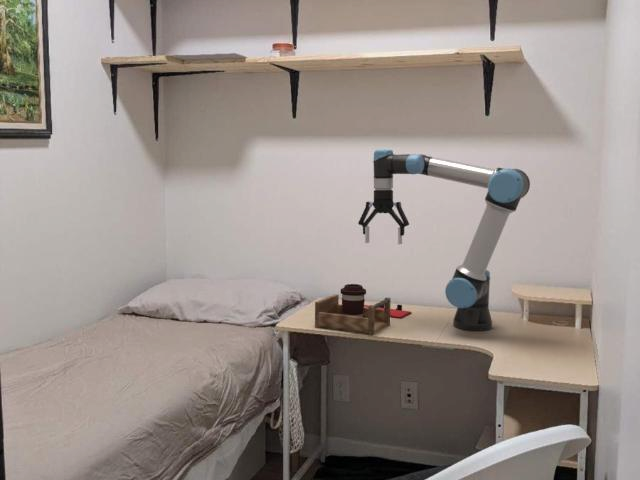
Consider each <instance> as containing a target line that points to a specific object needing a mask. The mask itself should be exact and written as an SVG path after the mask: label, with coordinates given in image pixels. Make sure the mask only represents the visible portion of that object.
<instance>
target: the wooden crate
mask: <svg viewBox="0 0 640 480" xmlns="http://www.w3.org/2000/svg"><path fill="white" fill-rule="evenodd" d="M339 299H340V296H339V294H338V293H337V294H336V293H335V294H332V295H329V296H328V297H325V298H322V299H319V300H317V301H315V302H314V328H317V329H323V330H331V331H337V332H344V333H345V332H346V333H353V334H358V335H367V336H374V335H375V334H377V333H379V332H381V331H383V330H384V329H387V328H388V327H389V326H391V318H390V309H391V303H392V302H391V300H392V299H391V297H385V298H384V299H383V300H381V301H379V302H377V303H375V304H373V305H372V304H369V305H368V308H366V307H364V312H363V317H356V316H348V315H343V313H342V303H341V304H339ZM382 305H384V310H383V309H376V308H378V307H380V306H382Z"/></svg>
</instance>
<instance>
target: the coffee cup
mask: <svg viewBox="0 0 640 480" xmlns="http://www.w3.org/2000/svg"><path fill="white" fill-rule="evenodd" d="M340 294H341V297H342V298H341V305H342V313H343V315H348V316H356V317H363V312H364V305H365V300H366V299H365V295H367V289H365V288H364V287H363V285H362V284H357V283H347V284H345V285H344V286H343V287H342V288H340Z"/></svg>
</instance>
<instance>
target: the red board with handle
mask: <svg viewBox="0 0 640 480" xmlns="http://www.w3.org/2000/svg"><path fill="white" fill-rule="evenodd" d="M396 305H397V306H396V308H395V309H394V308H390V317H391V318H390V319H397V320H399V319H400V320H402V319H404V318H406V317H407V316H409V315H413V312H412V311H407V310H403V305H402V304H396ZM368 306H369V305H368V304H364V307H366V308H368ZM376 309H383V310H384V305H382V306H380V307H378V308H376Z"/></svg>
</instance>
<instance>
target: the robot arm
mask: <svg viewBox="0 0 640 480" xmlns="http://www.w3.org/2000/svg"><path fill="white" fill-rule="evenodd" d="M372 163H373V202H372V201H370V200H369V201H366V202H365V208H364V210H363V212H362V213H361V216H360V218H359V221H358V222H357V224H358V225H359V226H362V234H363V235H364V236H365V237H364V238H365V239H364V242H365V243H364V244H369V243H370V226H369V224H370V222H371V221H372V220H373V219H374V218H375V216H376V215H377V214H389V215H390V217H392V219H394V221H395V222H396V224H397V225H398V226H399V227H398V228H397V245H401V244H403V236H405V227H408V226H409V225H410V222H409V221H408V218H407V216H406V214H405V211H404V210H403V207H402V203H401V201H397V202H394V190H393V188H394V175H423V176H429V177H433V178H437V179H443V180H447V181H452V182H457V183H460V184H466V185H470V186H474V187H479V188H483V189H487V193H486V194H485V195H486V196H485V198H484V202H485V204H486V207H485V209H484V211H483V214H482V216H481V219H480V221H479V223H478V226H477V229H476V231H475V234H474V236H473V239H472V240H471V243H470V245H469V247H468V251H467V252H466V255H465V258H464V260H463V263H462V264H460V265H457V267H456V268H455V272H454V274H453V276H452V278H451V279H450V280H449V281H448V283H447V285H446V286H445V291H444V293H445V297H446V299H447V301H448V303H450V304H451V305H452V306H453V307H455V308H457V309H456V312H455V314H454V316H453V319H452V326H453V327H455V328H457V329H461V330H465V331H488V330H491V329H492V328H493V320H492V319H493V318H492V316H491V312H490V308H489V307H490V305H489V301H490V285H491V284H490V283H491V282H490V281H491V272H490V271H489V270H487V268H488V266H489V263H490V262H491V261H490V260H491V259H492V256H493V254H494V251H495V249H496V247H497V245H498V243H499V240H500V238H501V235H502V233H503V230H504V228H505V226H506V223H507V220H508V219H509V216H510V215H511V214H512V213H514V212H516V210H517V208H518V206H519V203H520V202H521V199H523V198H524V197H525V196H526V195H527V194H528V192H529V190H530V188H531V181H530V177H529V176H528V175H527V173H526V172H524V171H523V170H522V169H518V168H503V167H497V168H494V169H493V168H490V167H489V168H488V167H484V166H479V165H473V164H470V163H469V164H468V163H463V162H458V161H454V160H449V159H443V158H438V157H432V156H430V155H429V156H428V155H426V154H421V153H420V154H419V153H418V154H417V153H410V154H409V153H408V154H407V153H406V154H405V153H404V154H403V153H402V154H394V151H393V149H375V150H374V152H373V160H372ZM372 207H373V208H374V209H373V210H372V212H371V213H370V214H369V212H370V209H371V208H372ZM394 207H395V209H396V211H397V212H398V214H399V216H400V217H399V216H398V214H397V213H396V211H394V209H393V208H394ZM368 214H369V216H368ZM367 216H368V217H367Z"/></svg>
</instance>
